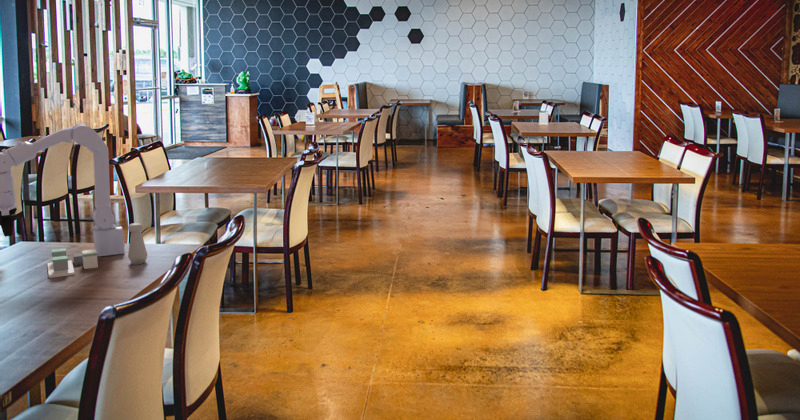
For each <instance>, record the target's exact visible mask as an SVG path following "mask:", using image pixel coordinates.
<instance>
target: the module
mask: <svg viewBox="0 0 800 420" xmlns="http://www.w3.org/2000/svg"><path fill="white" fill-rule="evenodd" d="M81 253H82V258H83V264H82V267H83V269H85V270H87V269H95V268H98V267H99V265H98V257H97V252H96V249H94V248H93V249H85V250H82V251H81Z"/></svg>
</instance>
